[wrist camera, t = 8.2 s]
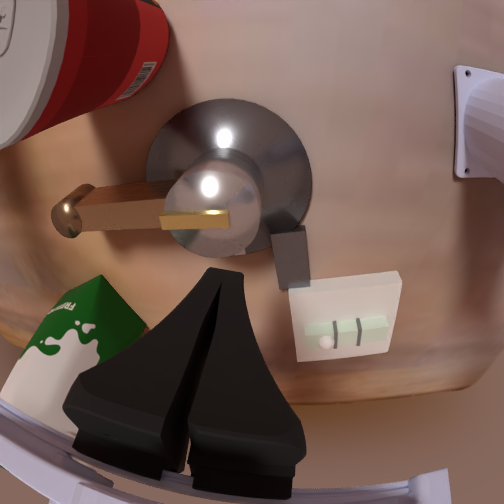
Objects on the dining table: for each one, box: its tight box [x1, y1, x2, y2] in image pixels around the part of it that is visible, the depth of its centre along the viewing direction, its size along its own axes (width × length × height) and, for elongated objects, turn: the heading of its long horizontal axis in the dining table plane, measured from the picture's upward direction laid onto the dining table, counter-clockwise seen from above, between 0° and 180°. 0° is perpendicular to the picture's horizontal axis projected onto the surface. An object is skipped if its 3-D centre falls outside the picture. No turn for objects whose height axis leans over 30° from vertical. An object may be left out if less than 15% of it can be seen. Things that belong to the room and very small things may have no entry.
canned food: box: [0, 0, 169, 150], centre depth 10 cm, size 8×8×11 cm
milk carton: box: [0, 275, 146, 472], centre depth 20 cm, size 9×9×20 cm
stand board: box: [289, 271, 402, 362], centre depth 24 cm, size 9×9×4 cm
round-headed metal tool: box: [51, 148, 264, 258], centre depth 17 cm, size 14×5×5 cm, turn 94°
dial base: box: [146, 99, 312, 290], centre depth 20 cm, size 11×14×1 cm
